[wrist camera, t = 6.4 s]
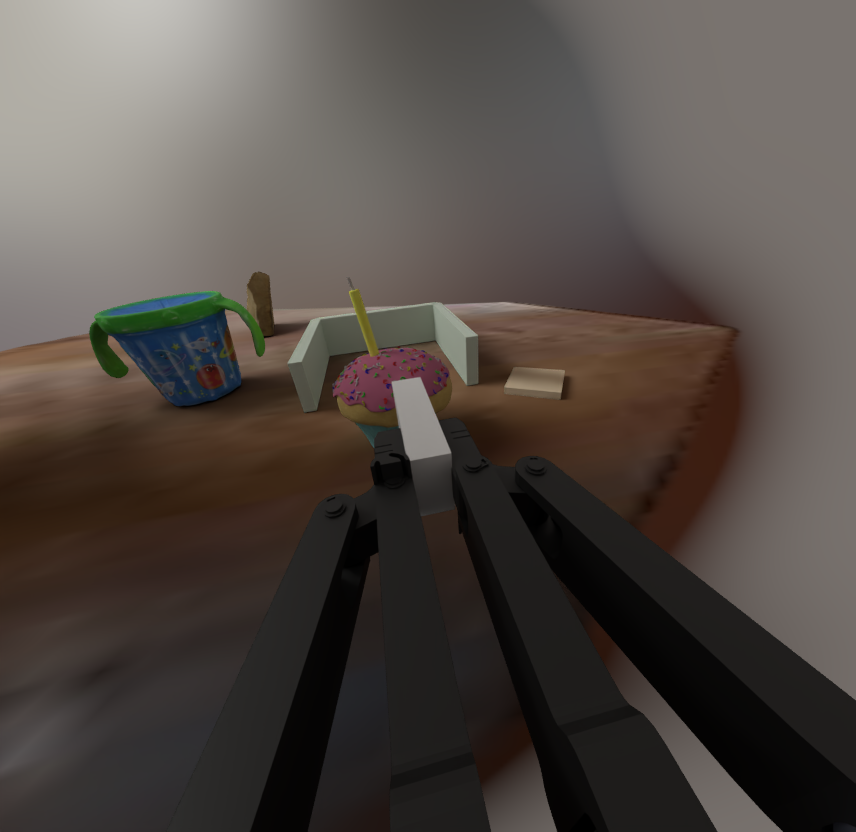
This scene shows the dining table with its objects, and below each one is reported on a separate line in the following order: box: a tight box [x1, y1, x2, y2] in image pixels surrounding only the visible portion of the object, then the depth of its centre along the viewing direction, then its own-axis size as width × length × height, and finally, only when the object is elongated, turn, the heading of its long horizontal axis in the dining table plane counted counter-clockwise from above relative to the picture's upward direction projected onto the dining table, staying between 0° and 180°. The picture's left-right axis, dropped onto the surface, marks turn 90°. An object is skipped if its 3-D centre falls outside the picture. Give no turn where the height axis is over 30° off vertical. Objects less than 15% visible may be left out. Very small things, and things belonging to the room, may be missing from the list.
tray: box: [288, 302, 478, 413], centre depth 37 cm, size 17×17×5 cm
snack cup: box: [89, 291, 265, 406], centre depth 34 cm, size 16×10×10 cm
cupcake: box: [332, 277, 452, 447], centre depth 22 cm, size 9×8×12 cm
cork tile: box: [504, 367, 565, 400], centre depth 31 cm, size 5×5×1 cm
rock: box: [247, 272, 274, 336], centre depth 57 cm, size 11×9×10 cm
